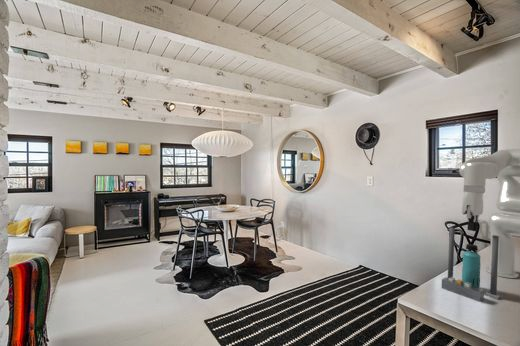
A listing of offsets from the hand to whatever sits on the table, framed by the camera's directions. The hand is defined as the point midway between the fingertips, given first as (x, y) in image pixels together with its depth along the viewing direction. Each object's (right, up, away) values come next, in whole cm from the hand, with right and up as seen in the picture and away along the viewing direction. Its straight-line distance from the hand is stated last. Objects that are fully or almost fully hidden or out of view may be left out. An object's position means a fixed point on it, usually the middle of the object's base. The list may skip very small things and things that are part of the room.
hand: (472, 230), depth 117 cm
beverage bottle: (0, -27, +1) cm, 27 cm away
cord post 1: (-5, -26, +8) cm, 28 cm away
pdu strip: (-8, -27, -4) cm, 28 cm away
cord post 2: (+4, -27, -6) cm, 28 cm away
